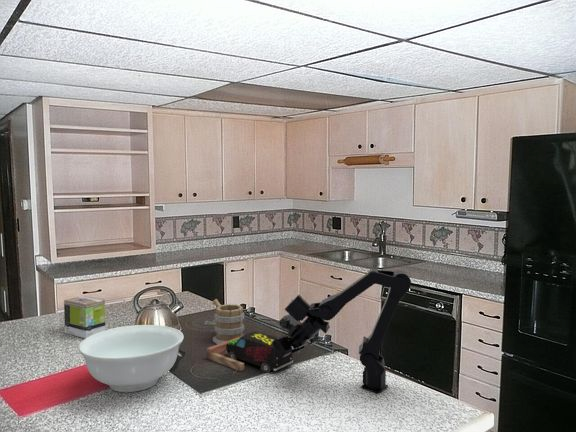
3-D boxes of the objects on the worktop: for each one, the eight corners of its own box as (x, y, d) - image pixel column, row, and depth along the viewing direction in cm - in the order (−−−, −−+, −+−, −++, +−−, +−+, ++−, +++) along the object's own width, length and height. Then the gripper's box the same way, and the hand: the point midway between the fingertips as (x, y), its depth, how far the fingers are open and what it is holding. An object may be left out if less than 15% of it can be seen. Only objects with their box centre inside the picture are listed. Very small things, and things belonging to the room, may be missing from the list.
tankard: (250, 342, 195) (250, 306, 194) (222, 348, 188) (222, 310, 187) (228, 329, 211) (228, 295, 210) (201, 334, 204) (201, 299, 203)
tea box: (106, 333, 205) (105, 299, 204) (85, 339, 196) (84, 304, 195) (84, 327, 213) (84, 294, 212) (63, 333, 204) (62, 299, 203)
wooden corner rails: (275, 356, 179) (275, 346, 179) (241, 371, 165) (241, 360, 165) (241, 345, 191) (241, 335, 190) (206, 358, 177) (206, 348, 177)
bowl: (79, 371, 165) (78, 330, 163) (174, 358, 177) (174, 319, 176) (79, 414, 135) (78, 364, 134) (193, 394, 148) (193, 348, 147)
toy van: (244, 350, 186) (244, 325, 185) (294, 366, 170) (294, 339, 170) (224, 358, 178) (224, 332, 177) (274, 376, 162) (274, 347, 161)
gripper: (311, 303, 167) (287, 327, 175) (276, 314, 153) (251, 340, 161) (330, 329, 163) (304, 353, 171) (295, 344, 148) (269, 369, 156)
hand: (282, 353), depth 165 cm, fingers closed
